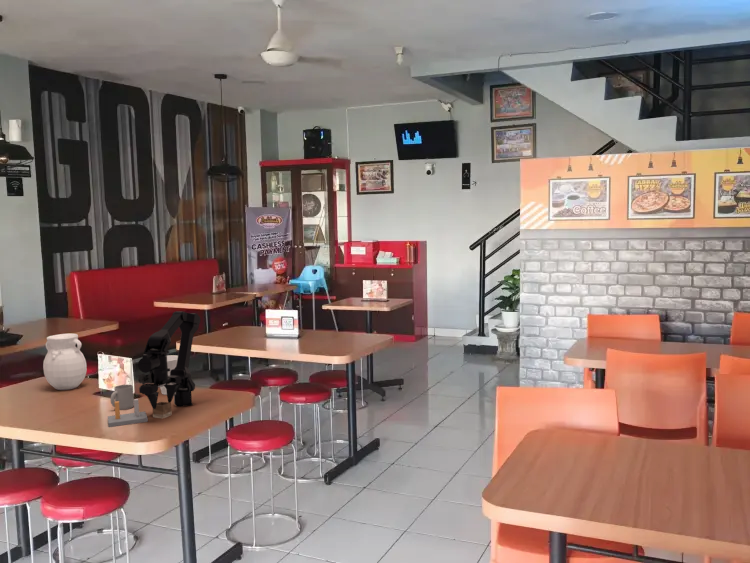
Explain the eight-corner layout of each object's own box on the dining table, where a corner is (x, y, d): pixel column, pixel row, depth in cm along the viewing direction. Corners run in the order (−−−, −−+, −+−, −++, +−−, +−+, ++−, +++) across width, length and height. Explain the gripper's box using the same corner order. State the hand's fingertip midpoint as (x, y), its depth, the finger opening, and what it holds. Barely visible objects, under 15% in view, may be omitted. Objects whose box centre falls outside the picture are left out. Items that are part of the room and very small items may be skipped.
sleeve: (161, 413, 263) (160, 401, 262) (171, 414, 261) (171, 402, 261) (153, 417, 258) (152, 405, 258) (163, 418, 256) (162, 406, 256)
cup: (137, 406, 275) (136, 385, 274) (117, 412, 266) (115, 391, 265) (126, 404, 278) (125, 383, 278) (106, 410, 270) (104, 389, 269)
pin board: (145, 415, 262) (144, 395, 261) (147, 421, 253) (146, 401, 252) (107, 420, 256) (106, 400, 255) (108, 427, 247) (107, 406, 246)
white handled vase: (35, 392, 302) (31, 339, 300) (61, 382, 320) (57, 332, 318) (72, 393, 299) (68, 339, 297) (95, 383, 317) (92, 332, 315)
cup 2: (158, 390, 301) (157, 355, 300) (185, 388, 303) (183, 354, 301) (153, 396, 290) (151, 361, 288) (180, 395, 291) (178, 360, 289)
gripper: (158, 360, 269) (161, 397, 271) (126, 370, 252) (129, 410, 254) (181, 362, 266) (183, 399, 267) (150, 372, 248) (152, 412, 250)
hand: (162, 405), depth 259 cm, fingers open, 9 cm apart
